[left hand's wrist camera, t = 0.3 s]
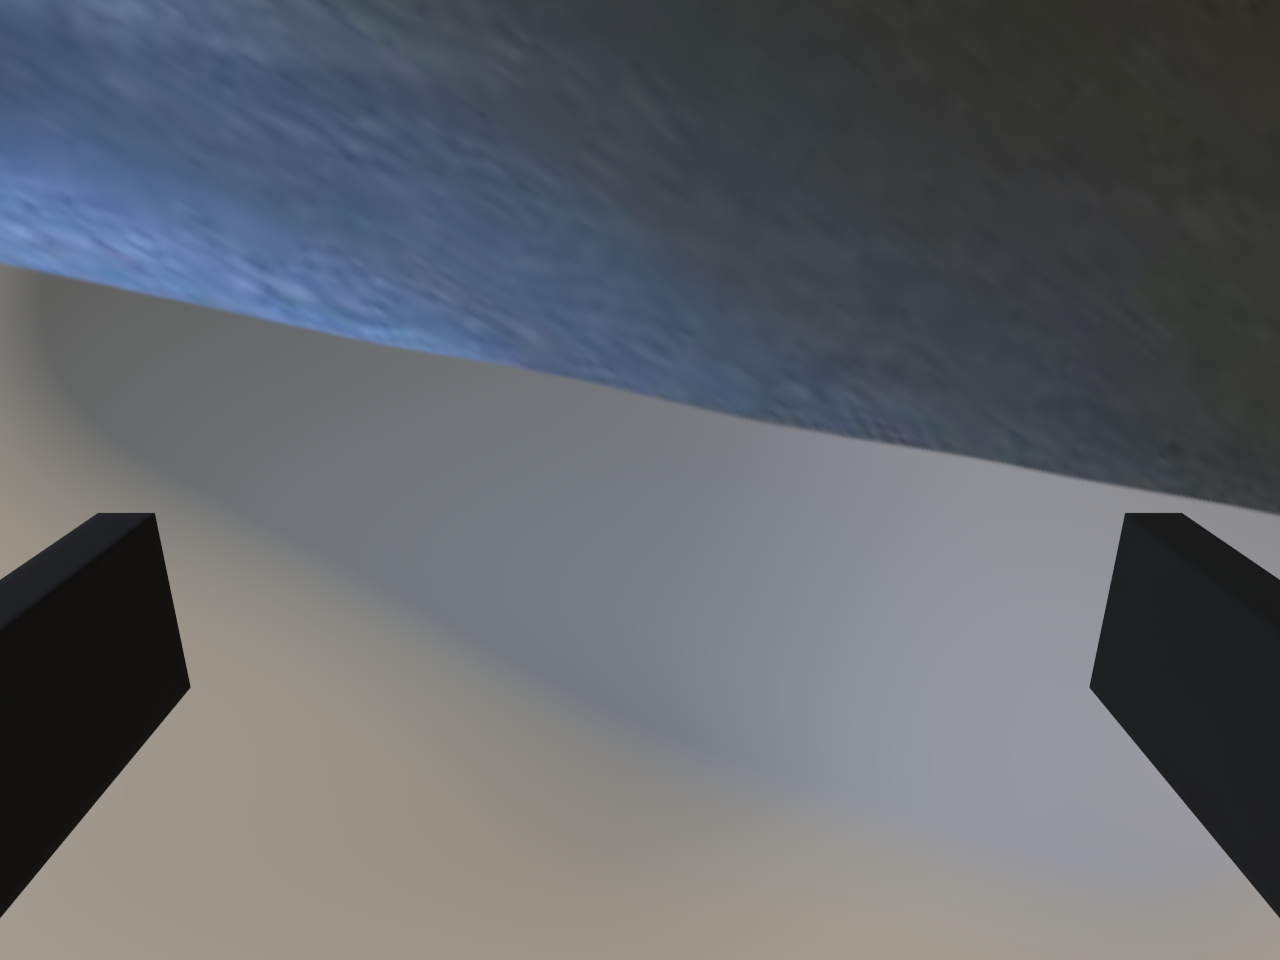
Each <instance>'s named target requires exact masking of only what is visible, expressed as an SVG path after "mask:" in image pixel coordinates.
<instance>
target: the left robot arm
mask: <svg viewBox="0 0 1280 960" xmlns="http://www.w3.org/2000/svg"><path fill="white" fill-rule="evenodd" d="M189 689H190V682H189V677H188V673H187V668H186V663H185V658H184V653H183V648H182V643H181V638H180V634H179V629H178V624H177V619H176V614H175V609H174V604H173V599H172V595H171V590H170V585H169V580H168V575H167V570H166V565H165V561H164V556H163V551H162V546H161V541H160V536H159V532H158V527H157V522H156V517H155V513H98V514H96V515H95V516H93V517H92V518H90V519H89V520H87V521H86V522H84V523H83V524H81V525H80V526H79V527H77V528H75V529H74V530H73V531H71V532H70V533H68V534H67V535H65V536H64V537H62V538H61V539H59V540H58V541H56V542H55V543H54V544H52V545H51V546H49V547H48V548H46V549H45V550H43V551H42V552H40V553H39V554H37V555H36V556H35V557H33V558H32V559H30V560H29V561H27V562H26V563H24V564H23V565H21V566H20V567H18V568H17V569H15V570H14V571H13V572H11V573H10V574H8V575H7V576H5V577H4V578H2V579H1V580H0V918H1V916H2V915H3V914H4V913H5V912H6V910H7V909H8V908H9V907H10V906H11V904H12V903H13V902H14V901H15V899H16V898H17V897H18V896H19V895H20V893H21V892H22V891H23V890H24V889H25V887H26V886H27V885H28V884H29V883H30V881H31V880H32V879H33V878H34V876H35V875H36V874H37V873H38V872H39V870H40V869H41V868H42V867H43V866H44V864H45V863H46V862H47V861H48V860H49V858H50V857H51V856H52V855H53V853H54V852H55V851H56V850H57V849H58V847H59V846H60V845H61V844H62V842H63V841H64V840H65V839H66V838H67V836H68V835H69V834H70V833H71V832H72V830H73V829H74V828H75V827H76V826H77V824H78V823H79V822H80V821H81V820H82V818H83V817H84V816H85V815H86V813H87V812H88V811H89V810H90V809H91V807H92V806H93V805H94V804H95V803H96V801H97V800H98V799H99V798H100V797H101V795H102V794H103V793H104V792H105V790H106V789H107V788H108V787H109V786H110V784H111V783H112V782H113V781H114V780H115V778H116V777H117V776H118V775H119V773H120V772H121V771H122V770H123V769H124V767H125V766H126V765H127V764H128V763H129V761H130V760H131V759H132V758H133V756H134V755H135V754H136V753H137V752H138V750H139V749H140V748H141V747H142V746H143V744H144V743H145V742H146V741H147V739H148V738H149V737H150V736H151V735H152V733H153V732H154V731H155V730H156V729H157V727H158V726H159V725H160V724H161V723H162V721H163V720H164V719H165V718H166V717H167V715H168V714H169V713H170V712H171V710H172V709H173V708H174V707H175V706H176V704H177V703H178V702H179V701H180V700H181V698H182V697H183V696H184V695H185V694H186V692H187V691H188V690H189ZM1090 689H1091V690H1092V691H1093V692H1094V694H1095V695H1096V696H1097V697H1098V698H1099V700H1100V701H1101V702H1102V703H1103V704H1104V706H1105V707H1106V708H1107V709H1108V710H1109V712H1110V713H1111V714H1112V715H1113V717H1114V718H1115V719H1116V720H1117V721H1118V723H1119V724H1120V725H1121V726H1122V727H1123V729H1124V730H1125V731H1126V732H1127V734H1128V735H1129V736H1130V737H1131V738H1132V740H1133V741H1134V742H1135V743H1136V744H1137V746H1138V747H1139V748H1140V749H1141V750H1142V752H1143V753H1144V754H1145V755H1146V757H1147V758H1148V759H1149V760H1150V761H1151V763H1152V764H1153V765H1154V766H1155V767H1156V769H1157V770H1158V771H1159V772H1160V773H1161V775H1162V776H1163V777H1164V778H1165V779H1166V781H1167V782H1168V783H1169V784H1170V786H1171V787H1172V788H1173V789H1174V790H1175V792H1176V793H1177V794H1178V795H1179V797H1180V798H1181V799H1182V800H1183V801H1184V803H1185V804H1186V805H1187V806H1188V807H1189V809H1190V810H1191V811H1192V812H1193V813H1194V815H1195V816H1196V817H1197V818H1198V820H1199V821H1200V822H1201V823H1202V824H1203V826H1204V827H1205V828H1206V829H1207V830H1208V832H1209V833H1210V834H1211V835H1212V836H1213V838H1214V839H1215V840H1216V841H1217V843H1218V844H1219V845H1220V846H1221V847H1222V849H1223V850H1224V851H1225V852H1226V853H1227V855H1228V856H1229V857H1230V858H1231V859H1232V861H1233V862H1234V863H1235V864H1236V866H1237V867H1238V868H1239V869H1240V870H1241V872H1242V873H1243V874H1244V875H1245V876H1246V878H1247V879H1248V880H1249V881H1250V882H1251V884H1252V885H1253V886H1254V887H1255V889H1256V890H1257V891H1258V892H1259V893H1260V895H1261V896H1262V897H1263V898H1264V899H1265V901H1266V902H1267V903H1268V904H1269V905H1270V907H1271V908H1272V909H1273V910H1274V912H1275V913H1276V914H1277V915H1278V916H1279V918H1280V580H1279V579H1278V578H1276V577H1275V576H1273V575H1272V574H1270V573H1269V572H1267V571H1266V570H1265V569H1263V568H1261V567H1260V566H1259V565H1257V564H1256V563H1254V562H1253V561H1251V560H1250V559H1248V558H1247V557H1245V556H1244V555H1242V554H1241V553H1240V552H1238V551H1237V550H1235V549H1234V548H1232V547H1231V546H1229V545H1228V544H1226V543H1225V542H1223V541H1222V540H1221V539H1219V538H1218V537H1216V536H1215V535H1213V534H1212V533H1210V532H1209V531H1207V530H1206V529H1204V528H1203V527H1202V526H1200V525H1199V524H1197V523H1196V522H1194V521H1193V520H1191V519H1190V518H1188V517H1187V516H1185V515H1184V514H1183V513H1125V517H1124V522H1123V526H1122V531H1121V536H1120V541H1119V546H1118V551H1117V556H1116V561H1115V565H1114V570H1113V575H1112V580H1111V585H1110V590H1109V595H1108V599H1107V604H1106V609H1105V614H1104V619H1103V624H1102V629H1101V634H1100V639H1099V643H1098V648H1097V653H1096V658H1095V663H1094V668H1093V672H1092V677H1091V682H1090Z"/></svg>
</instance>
